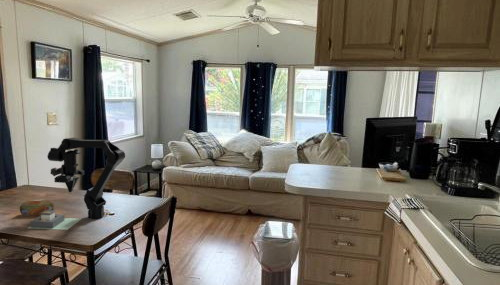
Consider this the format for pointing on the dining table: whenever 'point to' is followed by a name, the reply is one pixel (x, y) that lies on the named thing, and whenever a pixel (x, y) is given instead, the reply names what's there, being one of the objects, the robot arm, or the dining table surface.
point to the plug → (48, 215)
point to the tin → (36, 207)
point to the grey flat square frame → (47, 222)
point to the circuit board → (63, 224)
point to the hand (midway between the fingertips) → (70, 192)
